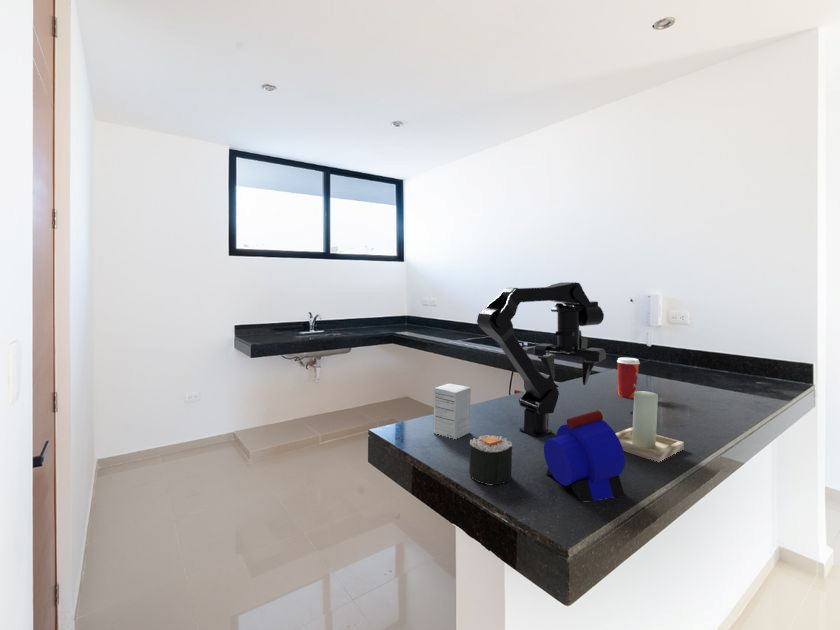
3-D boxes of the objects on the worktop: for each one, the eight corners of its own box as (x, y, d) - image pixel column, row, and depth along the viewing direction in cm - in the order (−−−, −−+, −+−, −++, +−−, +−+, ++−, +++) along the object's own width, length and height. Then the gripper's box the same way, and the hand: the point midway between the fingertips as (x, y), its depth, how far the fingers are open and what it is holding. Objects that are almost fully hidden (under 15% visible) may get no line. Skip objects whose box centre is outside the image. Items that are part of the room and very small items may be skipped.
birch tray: (658, 462, 95) (659, 453, 95) (604, 444, 105) (605, 436, 105) (683, 450, 102) (684, 442, 102) (630, 434, 113) (631, 427, 113)
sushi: (518, 478, 86) (519, 440, 85) (489, 489, 81) (490, 449, 80) (490, 464, 92) (491, 429, 92) (461, 473, 88) (462, 437, 87)
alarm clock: (627, 496, 79) (631, 419, 78) (572, 505, 76) (576, 424, 75) (585, 469, 91) (588, 401, 90) (535, 475, 87) (538, 405, 86)
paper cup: (642, 399, 150) (644, 360, 149) (621, 398, 150) (622, 360, 149) (631, 393, 158) (633, 357, 157) (611, 393, 158) (613, 356, 157)
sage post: (645, 450, 100) (648, 397, 100) (627, 442, 105) (629, 392, 104) (660, 447, 102) (663, 395, 102) (641, 440, 107) (644, 390, 106)
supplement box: (448, 426, 117) (449, 382, 116) (470, 433, 112) (471, 387, 112) (432, 433, 111) (433, 387, 111) (455, 440, 107) (456, 392, 106)
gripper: (613, 326, 115) (612, 381, 117) (550, 323, 128) (550, 372, 130) (598, 330, 107) (598, 389, 109) (532, 326, 120) (532, 379, 121)
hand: (568, 382), depth 117 cm, fingers open, 9 cm apart
